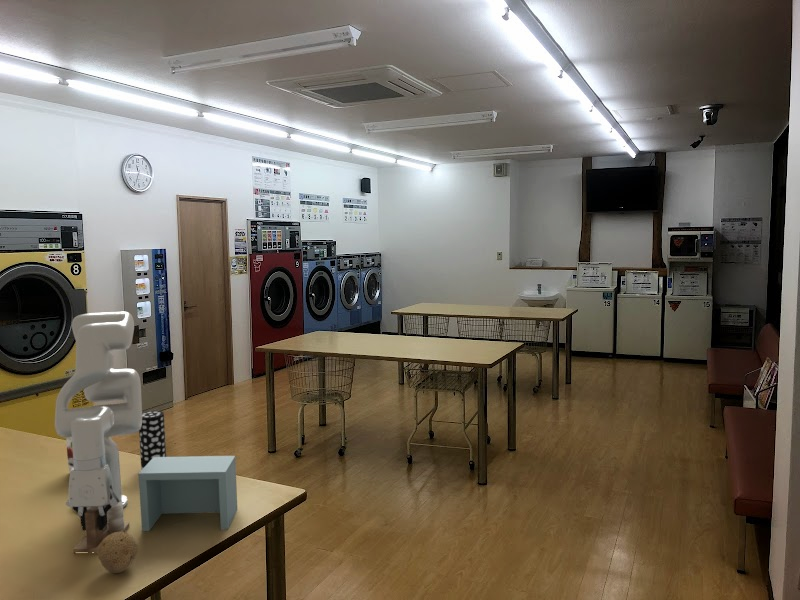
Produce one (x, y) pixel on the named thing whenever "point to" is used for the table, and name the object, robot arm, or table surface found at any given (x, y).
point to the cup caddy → (96, 535)
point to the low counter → (188, 487)
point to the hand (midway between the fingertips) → (94, 527)
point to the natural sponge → (117, 551)
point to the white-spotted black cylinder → (152, 436)
